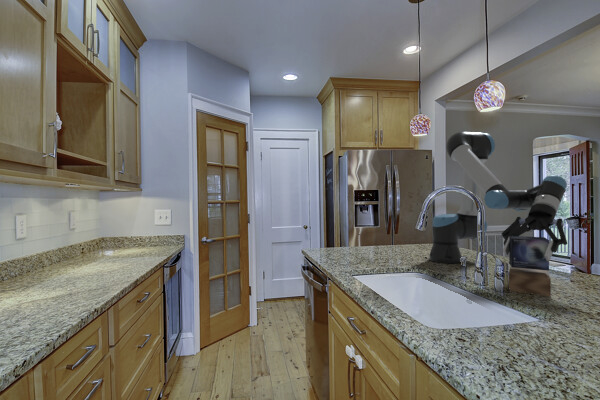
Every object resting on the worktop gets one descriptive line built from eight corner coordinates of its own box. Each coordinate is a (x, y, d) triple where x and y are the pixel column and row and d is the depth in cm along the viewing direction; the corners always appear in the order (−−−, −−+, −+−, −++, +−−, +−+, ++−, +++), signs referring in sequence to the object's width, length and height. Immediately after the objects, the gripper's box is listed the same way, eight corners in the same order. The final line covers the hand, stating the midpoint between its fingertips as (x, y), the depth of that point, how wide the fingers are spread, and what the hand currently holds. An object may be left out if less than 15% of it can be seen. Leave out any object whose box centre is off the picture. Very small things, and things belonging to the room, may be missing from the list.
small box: (511, 267, 106) (511, 237, 106) (508, 264, 111) (508, 235, 111) (550, 271, 101) (549, 239, 101) (545, 267, 106) (545, 237, 106)
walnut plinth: (508, 291, 104) (508, 274, 104) (510, 282, 115) (510, 266, 115) (550, 297, 97) (550, 278, 97) (547, 287, 108) (547, 270, 108)
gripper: (504, 202, 121) (484, 244, 113) (584, 202, 101) (566, 253, 93) (511, 215, 124) (491, 256, 116) (589, 218, 104) (573, 268, 96)
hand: (524, 255), depth 105 cm, fingers closed on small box, 12 cm apart
